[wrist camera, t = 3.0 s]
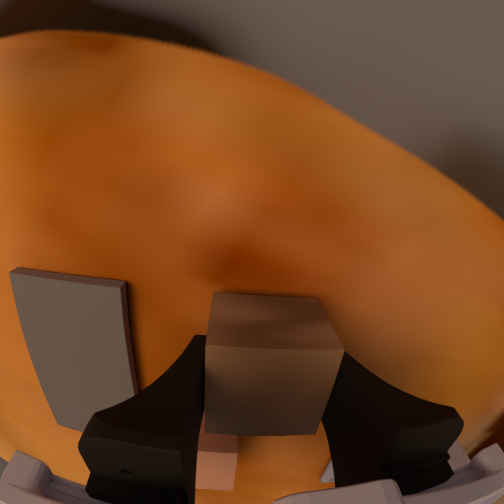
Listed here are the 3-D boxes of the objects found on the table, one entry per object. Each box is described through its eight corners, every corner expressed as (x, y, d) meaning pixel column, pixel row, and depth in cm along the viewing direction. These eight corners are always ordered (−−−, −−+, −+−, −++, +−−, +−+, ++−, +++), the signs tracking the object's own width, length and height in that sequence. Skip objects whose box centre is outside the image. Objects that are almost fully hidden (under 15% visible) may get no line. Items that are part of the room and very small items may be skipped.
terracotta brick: (236, 400, 16) (237, 453, 12) (232, 443, 18) (232, 490, 14) (158, 392, 16) (145, 443, 12) (165, 437, 17) (156, 483, 13)
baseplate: (125, 281, 13) (120, 288, 13) (148, 438, 17) (146, 446, 16) (17, 267, 13) (9, 272, 12) (61, 417, 16) (57, 424, 16)
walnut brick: (317, 298, 13) (344, 349, 10) (299, 376, 15) (315, 433, 11) (213, 292, 13) (205, 344, 9) (210, 373, 14) (204, 433, 11)
